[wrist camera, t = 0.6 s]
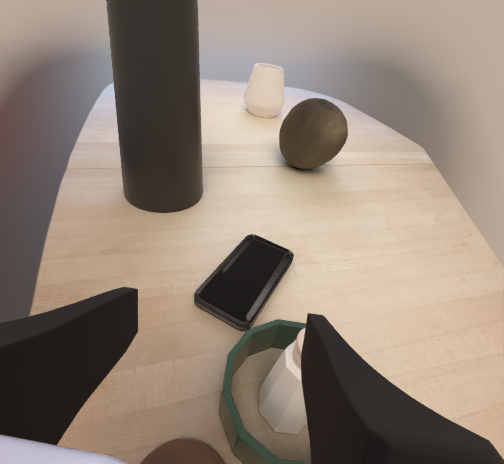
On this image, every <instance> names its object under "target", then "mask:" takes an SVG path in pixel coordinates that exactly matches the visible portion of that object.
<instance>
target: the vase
mask: <svg viewBox="0 0 504 464" xmlns="http://www.w3.org/2000/svg"><path fill="white" fill-rule="evenodd" d="M106 1H107V13H108V24H109V35H110V46H111V57H112V68H113V79H114V90H115V100H116V113H117V123H118V133H119V146H120V156H121V168H122V177H123V189H124V195H125V197H126V199H127V200H128V201H129V202H130V203H131V204H132V205H134V206H136V207H138V208H140V209H143V210H146V211H151V212H175V211H180V210H184V209H187V208H189V207H191V206H193V205H194V204H196V203H197V202H198V201H199V200H200V198H201V197H202V193H203V185H202V145H201V107H200V72H199V39H198V38H199V37H198V36H199V33H198V5H197V4H198V3H197V0H106Z"/></svg>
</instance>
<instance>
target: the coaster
mask: <svg viewBox="0 0 504 464" xmlns="http://www.w3.org/2000/svg"><path fill="white" fill-rule="evenodd" d="M141 464H224V462H223V460H222V459H221V457H220V456H219V455H218V453H217V452H216V451H215V450H214V449H213V448H211V447H210V446H209V445H207V444H205V443H204V442H201V441H199V440H195V439H186V438H185V439H177V440H173V441H170V442H167V443H165V444H163V445H161V446H160V447H158V448H157V449H155V450H154V451H153V452H151V453H150V454H149V455H148V456H147V457H146V458H145V459H144V460H143V461H142V462H141Z"/></svg>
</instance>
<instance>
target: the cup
mask: <svg viewBox="0 0 504 464" xmlns="http://www.w3.org/2000/svg"><path fill="white" fill-rule="evenodd" d="M244 101H245V104H246V106H247V109H248V111H249V113H250V114H252V115H255V116H258V117H263V118H272V117H275V116H276V114H277V113H278V112H279V111H280V110H281V108H282V107H283V105H284V74H283V68H282V67H280V66H277V65H273V64H267V63H256V64H255V66H254V68H253V71H252V74H251V77H250V80H249V82H248V85H247V88H246V91H245V93H244Z"/></svg>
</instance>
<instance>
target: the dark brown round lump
mask: <svg viewBox="0 0 504 464" xmlns="http://www.w3.org/2000/svg"><path fill="white" fill-rule="evenodd" d="M347 136H348V129H347V121H346V118H345V116H344V115H343V113H342V111H341V110H340V109H339V108H338V107H337V106H336V105H334V104H333V103H331V102H329V101H327V100H325V99H317V98H313V99H307V100H304V101H302V102H300V103H299V104H297V105H296V106H295V107H293V108H292V109H291V111H290V112H289V114H288V115H287V116H286V118H285V119H284V121H283V123H282V125H281V129H280V134H279V141H280V150H281V153H282V155H283V157H284V158H285V160H286V161H287V162H288V163H289V164H291V165H292V166H294V167H297V168H301V169H310V168H316V167H319V166H321V165H323V164H325V163H326V162H328V161H330V160H331V159H333V158H334V157H335V156H336V155H337V154H338V152H339V151H340V150H341V149H342V147H343V146H344V144H345V142H346V139H347Z"/></svg>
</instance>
